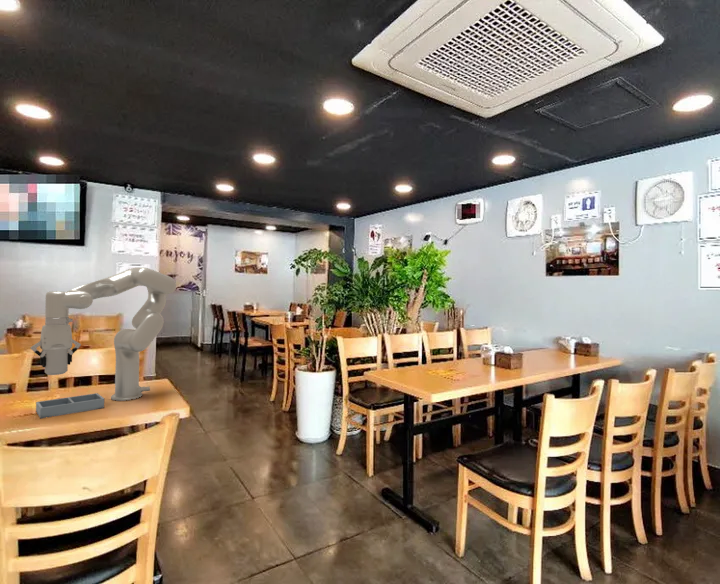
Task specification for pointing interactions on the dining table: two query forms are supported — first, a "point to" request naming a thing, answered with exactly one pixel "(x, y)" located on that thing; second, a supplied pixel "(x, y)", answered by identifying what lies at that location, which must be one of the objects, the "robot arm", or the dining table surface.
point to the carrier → (69, 405)
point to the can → (56, 360)
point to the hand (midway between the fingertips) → (56, 365)
